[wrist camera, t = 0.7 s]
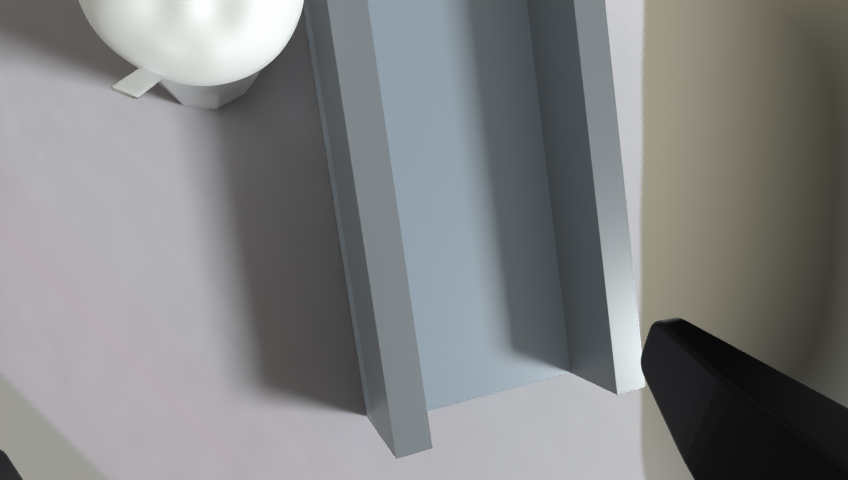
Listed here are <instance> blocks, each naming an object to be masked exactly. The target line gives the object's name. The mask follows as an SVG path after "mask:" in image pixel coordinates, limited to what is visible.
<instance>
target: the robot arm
mask: <svg viewBox="0 0 848 480" xmlns="http://www.w3.org/2000/svg"><path fill="white" fill-rule="evenodd" d="M641 369H642V372H643V375H644V377H645V379H646V381H647V383H648V386H649V388H650V390H651V392H652V394H653V396H654V399H655V401H656V403H657V405H658V407H659V409H660V411H661V414H662V416H663V418H664V420H665V422H666V424H667V426H668V429H669V431H670V433H671V435H672V437H673V440H674V442H675V444H676V446H677V448H678V450H679V452H680V454H681V456H682V458H683V460H684V462H685V464H686V465H687V467H688V469H689V471H690V472H691V474H692V476H693V478H694V479H695V480H848V408H847V407H845V406H843V405H841V404H839V403H837V402H835V401H834V400H832V399H830V398H828V397H826V396H824V395H822V394H820V393H819V392H817V391H815V390H813V389H811V388H810V387H808V386H806V385H804V384H802V383H800V382H798V381H797V380H795V379H793V378H791V377H789V376H787V375H786V374H784V373H782V372H780V371H778V370H776V369H774V368H773V367H771V366H769V365H767V364H765V363H763V362H761V361H760V360H758V359H756V358H754V357H752V356H750V355H749V354H746V353H745V352H743V351H741V350H739V349H737V348H735V347H734V346H732V345H730V344H728V343H726V342H724V341H722V340H721V339H719V338H717V337H715V336H713V335H712V334H709V333H708V332H706V331H704V330H702V329H700V328H698V327H697V326H695V325H693V324H691V323H689V322H688V321H685V320H683V319H681V318H671V319H666V320H660V321H657V322H655V323H654V324H652V326H651V328H650V331H649V333H648V336H647V340H646V343H645V346H644V349H643V352H642V355H641ZM0 480H23V479H22V477H21V476H20V474H19V473H18V471H17V470H16V468H15V467H14V465H13V464H12V462H11V461H10V459H9V457H8V456H7V455H6V453H5V452H4V451H2V450H0Z"/></svg>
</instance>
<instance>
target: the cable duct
mask: <svg viewBox="0 0 848 480" xmlns="http://www.w3.org/2000/svg"><path fill="white" fill-rule="evenodd" d="M303 9H304V16H305V22H306V29H307V35H308V42H309V48H310V54H311V61H312V67H313V74H314V80H315V87H316V93H317V99H318V106H319V112H320V119H321V125H322V132H323V138H324V144H325V151H326V157H327V164H328V170H329V177H330V183H331V189H332V196H333V202H334V209H335V215H336V222H337V228H338V234H339V241H340V247H341V254H342V260H343V267H344V273H345V279H346V286H347V292H348V299H349V305H350V312H351V318H352V324H353V331H354V337H355V344H356V350H357V357H358V363H359V369H360V376H361V382H362V389H363V395H364V402H365V408H366V414H367V417H368V419H369V420H370V422H371V423H372V425H373V426H374V427H375V429H376V430H377V432H378V433H379V435H380V436H381V437H382V439H383V440H384V442H385V443H386V445H387V446H388V447H389V449H390V450H391V452H392V453H393V455H394V456H395V457H396V459H397V458H400V457H404V456H407V455H411V454H414V453H418V452H421V451H425V450H428V449H431V448H432V443H431V436H430V429H429V422H428V415H427V411H429V410H433V409H437V408H441V407H444V406H448V405H452V404H455V403H459V402H463V401H467V400H470V399H474V398H478V397H482V396H485V395H489V394H493V393H497V392H500V391H504V390H508V389H511V388H515V387H519V386H523V385H526V384H530V383H534V382H538V381H541V380H545V379H549V378H552V377H556V376H560V375H564V374H567V373H573V374H575V375H577V376H579V377H581V378H583V379H585V380H587V381H590V382H592V383H594V384H596V385H598V386H600V387H602V388H604V389H606V390H608V391H611V392H613V393H615V394H617V395H618V394H622V393H625V392H629V391H632V390H636V389H639V388H643V387H645V377H644V375H643V372H642V369H641V355H642V349H641V339H640V330H639V320H638V311H637V301H636V292H635V282H634V273H633V263H632V254H631V244H630V235H629V225H628V216H627V206H626V197H625V188H624V178H623V169H622V159H621V150H620V140H619V131H618V121H617V112H616V102H615V93H614V83H613V74H612V64H611V55H610V45H609V36H608V26H607V17H606V7H605V0H304V3H303Z"/></svg>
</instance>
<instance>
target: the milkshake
mask: <svg viewBox="0 0 848 480" xmlns="http://www.w3.org/2000/svg"><path fill="white" fill-rule="evenodd" d="M79 3H80V5H81V8H82V10H83V12H84V14H85V16H86V18H87V20H88V21H89V23H90V25H91V26H92V27H93V29H94V30H95V32H96V33H97V34H98V35H99V37H100V38H101V39H102V40H103V41H104V42H105V43H106V44H107V45H108V46H109V47H110V48H111V49H112V50H113V51H115V52H116V53H117V54H118V55H120V56H121V57H122V58H124V59H125V60H127V61H128V62H130V63H131V64H132V65H134V66H135V67H136V68H138V69H137V70H135V71H134V72H132V73H131V74H129V75H128V76H126V77H125V78H123V79H121V80H120V81H118V82H117V83H115V84H114V85H112V86H111V89H112V90H114V91H116V92H118V93H121V94H123V95H126V96H128V97H131V98H133V99H138V98H139V97H141V96H142V95H143V94H144V93H146V92H147V91H148V90H149V89H151V88H152V87H153V86H154V85H156V84H158V85H159V86H161V87H162V88H163V89H164V90H166V91H167V92H168V93H169V94H170V95H172V96H173V97H174V98H175V99H176V100H178V101H179V102H180V103H181V104H182V105H184V106H192V107H201V108H210V109H218V108H220V107H222V106H223V105H225V104H227V103H229V102H231V101H232V100H234V99H236V98H238V97H240V96H241V95H243V94H244V93H245V92H246V91H247V89H248V88H249V87H250V85H251V84H252V83H253V82H254V80H255V79H256V78H257V76H258V75H259V74H260V72H261V71H262V70H263V69H264V68H265V67H266V66H267V65H268V64H269V63H270V62H271V61H273V60H274V59H275V58H276V57H277V56H278V55H279V54H280V52H281V51H282V50H283V49H284V47H285V46H286V44H287V43H288V41H289V40H290V38H291V36H292V34H293V32H294V30H295V28H296V26H297V23H298V21H299V18H300V15H301V12H302V8H303V3H304V0H79Z"/></svg>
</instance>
